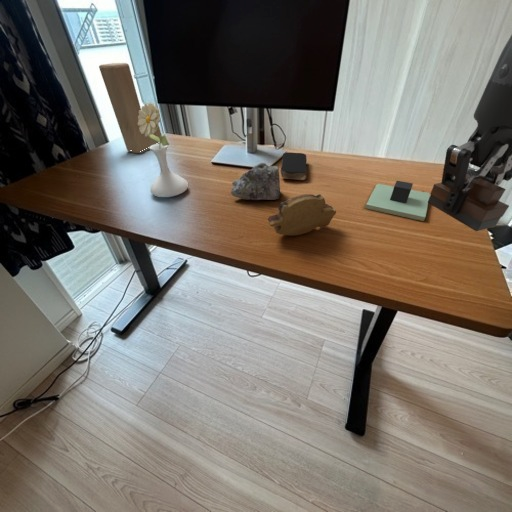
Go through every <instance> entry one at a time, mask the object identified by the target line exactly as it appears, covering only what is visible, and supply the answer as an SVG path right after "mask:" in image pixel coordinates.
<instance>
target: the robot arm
mask: <svg viewBox="0 0 512 512" xmlns="http://www.w3.org/2000/svg"><path fill="white" fill-rule="evenodd" d="M473 119H474V120H475V121H476V123H477V126H476V128H475V129H474V131H473V132H472V134H471V135H470V137H469V138H468V139H467V141H466V142H465V143H463V144H462V145H455V144H451V145H449V147H447V149H446V151H445V152H446V153H445V157H444V163H443V164H444V165H443V169H442V170H443V171H442V177H441V182H440V183H442V184H443V185H445V186H447V187H449V188H450V192H449V194H448V196H447V198H446V200H445V202H444V205H443V210H444V211H446V212H447V213H449V214H451V215H456V214H458V213H459V211H460V209H461V207H462V206H463V204H464V202H465V200H466V198H467V196H468V194H469V193H468V192H469V191H470V190H471V189H472V187H473V186H474V185H475V183H476V182H477V180H478V179H480V178H481V179H483V180H486V181H488V182H490V183H493V184H495V185H497V186H500V185H501V184H502V183H503V181H506V182H508V181H511V180H512V34H511V35H510V37H509V38H508V39H507V42H506V43H505V44H504V46H503V49H502V50H501V53H500V54H499V56H498V58H497V61H496V63H495V66H494V67H493V69H492V72H491V75H490V76H489V79H488V81H487V83H486V86H485V88H484V90H483V92H482V94H481V97H480V99H479V101H478V104H477V106H476V108H475V110H474V113H473ZM470 165H472V166H474V167H477V168H478V169H476V168H473V167H471V166H470ZM466 174H469V175H470V178H469V179H468V180H467V182H466V183H464V182H465V178H466ZM452 175H454V178H452Z"/></svg>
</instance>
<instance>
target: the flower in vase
mask: <svg viewBox="0 0 512 512" xmlns="http://www.w3.org/2000/svg"><path fill="white" fill-rule="evenodd" d="M160 117H161V115H160V109H159V108H158V107H157V106H156V105H155V104H154V103H152V102H151V101H150V102H149V103H147V102H144V104H143V105H142V106H141V110H139V116H138V119H139V120H138V121H139V122H138V126H140V128H139V129H140V132H141V134H144V133H145V137H147V136H150V137H151V138H152V139H154V140H156V141H158V142H160V144H154V145H152V146H150V147H149V148H150V149H149V150H150V151H152V152H153V153H154V155H155V157H156V159H157V161H158V165H159V169H160V171H159V172H160V173H159V175H158V176H157V177H156V178H155V179H154V180H153V181H152V183H151V184H150V188H149V192H150V193H151V194H152V195H153V196H155V197H158V198H172V197H175V196H179V195H181V194H183V193H185V192H186V191H187V189H188V187H189V183H188V181H187V180H186V178H183V177H182V176H180V175H178V174H177V173H174V172H172V171H171V170H170V167H169V165H168V160H167V149H168V148H169V145H170V143H169V141H168V139H167V136H166V135H165V134H164V135H162V132H161V129H160V130H159V129H158V126H159V127H160V125H159V123H160V122H161V118H160ZM157 129H158V131H159V133H160V139H159V138H158V137H157V136H155V135H153V134H154V133H155V132H156V130H157ZM161 142H162V143H161Z"/></svg>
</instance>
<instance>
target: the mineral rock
mask: <svg viewBox="0 0 512 512" xmlns="http://www.w3.org/2000/svg"><path fill="white" fill-rule="evenodd" d="M280 180H281V179H280V170H279V167H278V166H277V165H268V164H267V163H265V162H260V163H258V164H256V165H254V166H253V167H252V168H251V169H250V170H248V171H246V172H243V174H242V175H241V176H240V177H239V178H238V179H235V180H234V181H233V182H232V183H231V184H232V189H231V191H230V193H231V195H232V196H233V197H234V198H238V199H242V200H248V201H249V200H253V201H260V200H262V201H263V200H265V201H266V200H269V201H270V200H271V201H272V200H274V201H275V200H279V199H280V197H281V193H282V192H281V186H280V183H281V182H280Z"/></svg>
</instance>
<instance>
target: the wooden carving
mask: <svg viewBox="0 0 512 512" xmlns="http://www.w3.org/2000/svg"><path fill="white" fill-rule="evenodd" d="M336 214H337V210H336V209H335V208H333V206H332V205H329V204H327V203H326V199H325V197H324V195H322V194H321V193H318V194H317V195H315V194H311V193H309V194H308V193H305V194H301V195H297V196H293V197H291V198H288V199H287V200H285V201H281V202H280V203H279V205H278V214H273V215H270V216H268V217H267V221H268V222H269V223H268V225H269V226H270V227H273V228H274V230H275V233H276V234H278V235H282V236H291V237H292V236H294V237H295V236H300V235H304V234H307V233H310V232H312V231H313V230H315V229H317V228H324V227H327V226H329V225H330V223H331V221H332V220H333V218H334V216H335V215H336Z"/></svg>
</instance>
